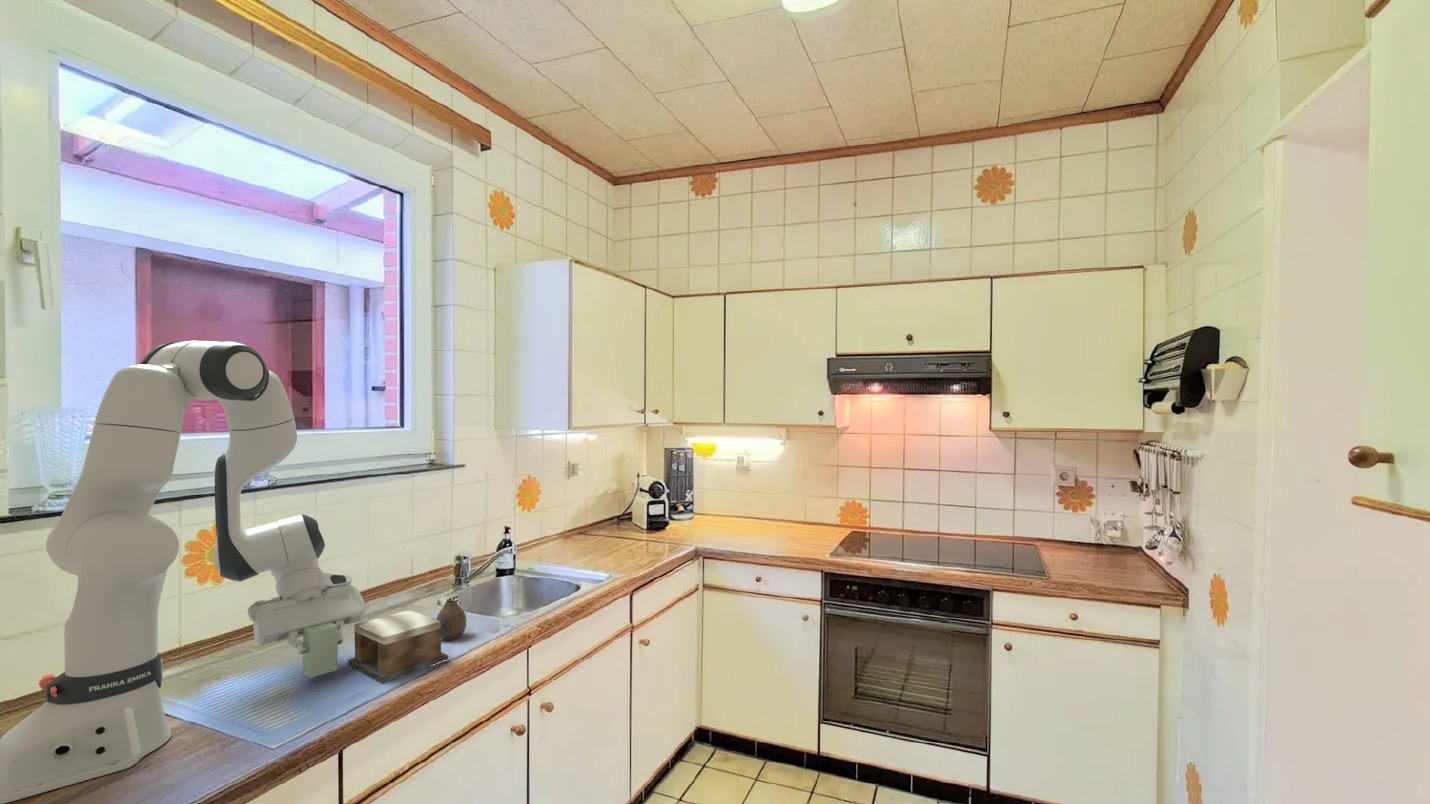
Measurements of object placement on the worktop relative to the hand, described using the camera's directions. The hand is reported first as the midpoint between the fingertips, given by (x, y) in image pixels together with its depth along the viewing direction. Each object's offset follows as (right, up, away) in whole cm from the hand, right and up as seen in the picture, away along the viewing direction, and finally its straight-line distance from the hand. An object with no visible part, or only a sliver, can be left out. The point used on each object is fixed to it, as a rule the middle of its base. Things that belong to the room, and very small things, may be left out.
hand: (321, 647), depth 129 cm
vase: (+17, -7, +23) cm, 29 cm away
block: (0, -5, 0) cm, 5 cm away
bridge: (+12, -6, +8) cm, 16 cm away
